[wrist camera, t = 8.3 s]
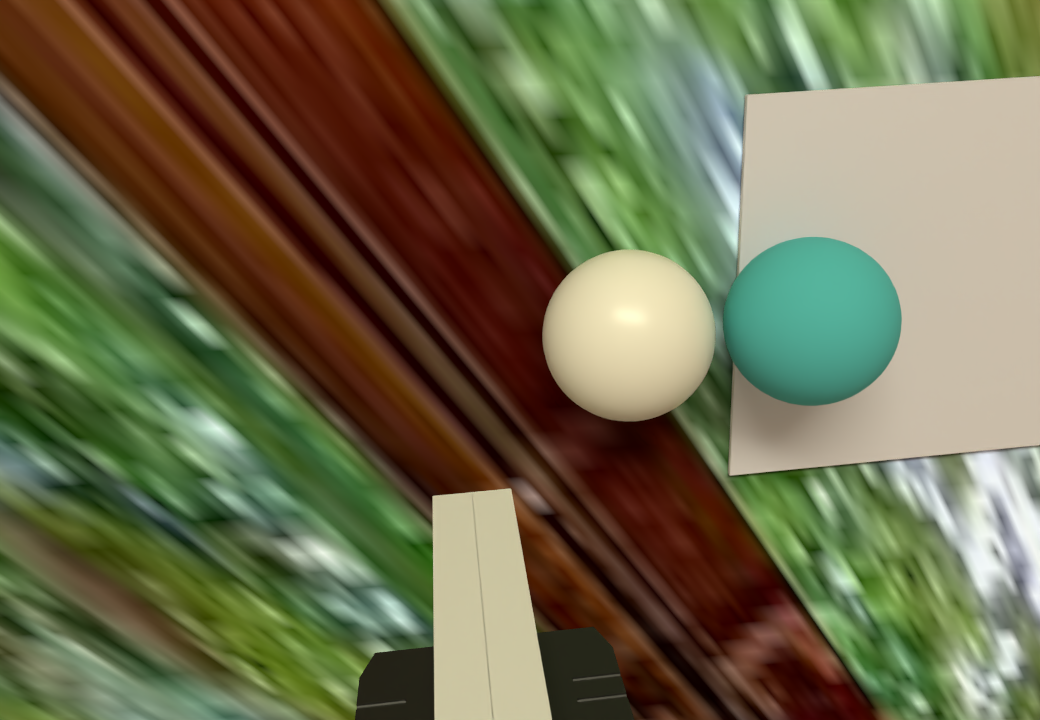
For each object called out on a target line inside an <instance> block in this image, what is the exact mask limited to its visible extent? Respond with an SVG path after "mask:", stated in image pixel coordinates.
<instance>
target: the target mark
mask: <svg viewBox="0 0 1040 720" xmlns="http://www.w3.org/2000/svg"><path fill="white" fill-rule="evenodd" d="M802 237H825V238H831V239H835V240H839V241H843V242H846V243H848V244H850V245H853V246H855V247H857V248H859V249H861V250H862V251H864V252H865V253H867V254H868V255H869V256H871V257H872V258H873V259H874V260H875V261H876V262H877V263H878V264H879V265H880V266H881V267H882V268H883V269H884V271H885V272H886V273H887V275H888V276H889V278H890V279H891V281H892V283H893V285H894V287H895V289H896V292H897V295H898V297H899V302H900V307H901V314H902V324H901V333H900V339H899V343H898V346H897V349H896V351H895V354H894V356H893V358H892V360H891V361H890V363H889V365H888V366H887V368H886V369H885V370H884V372H883V373H882V374H881V375H880V376H879V377H878V378H877V379H876V380H875V381H874V382H873V383H872V384H871V385H869V386H868V387H867V388H865V389H864V390H862V391H861V392H859V393H858V394H856V395H854V396H852V397H850V398H847V399H845V400H842V401H839V402H836V403H832V404H827V405H818V406H803V405H796V404H790V403H787V402H783V401H780V400H777V399H774V398H773V397H771V396H769V395H767V394H765V393H763V392H761V391H760V390H759V389H757V388H756V387H755V386H753V385H752V384H751V383H750V382H749V381H748V380H747V379H746V378H745V377H744V376H743V375H742V374H741V372H740V371H739V370H738V368H737V367H736V365H735V364H734V362H733V375H732V397H731V419H730V441H729V463H728V474H729V475H730V476H731V475H741V474H751V473H761V472H771V471H781V470H791V469H802V468H812V467H822V466H832V465H842V464H852V463H862V462H873V461H883V460H893V459H903V458H913V457H923V456H933V455H943V454H954V453H964V452H974V451H984V450H994V449H1004V448H1014V447H1024V446H1035V445H1040V76H1034V77H1018V78H1003V79H987V80H971V81H955V82H940V83H924V84H908V85H893V86H877V87H861V88H846V89H830V90H814V91H799V92H783V93H767V94H751V95H745V110H744V132H743V154H742V176H741V198H740V220H739V242H738V264H737V276H738V275H739V274H740V272H741V271H742V270H743V269H744V267H745V266H746V265H747V264H748V263H749V262H750V261H751V260H752V259H754V258H755V257H756V256H757V255H759V254H760V253H762V252H763V251H765V250H766V249H768V248H770V247H772V246H774V245H776V244H779V243H781V242H784V241H787V240H792V239H797V238H802Z"/></svg>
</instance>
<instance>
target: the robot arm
mask: <svg viewBox="0 0 1040 720" xmlns="http://www.w3.org/2000/svg"><path fill="white" fill-rule="evenodd" d="M433 592H434V647H425V648H416V649H407V650H398V651H389V652H380V653H375V654H374V656H373V657H372V659H371V660H370V662H369V664H368V665H367V667H366V668H365V670H364V672H363V673H362V675H361V676H360V678H359V688H358V697H357V710H356V716H355V720H634V718H633V714H632V711H631V708H630V704H629V701H628V698H627V697H626V691H625V687H624V684H623V681H622V677H621V676H620V671H619V667H618V664H617V660H616V657H615V654H614V650H613V647H612V646H611V645H610V644H609V643H608V642H607V641H606V640H605V639H604V638H603V636H602V635H601V634H600V633H599V632H598V631H597V630H596V629H595V628H594V627H588V628H579V629H570V630H561V631H552V632H542V633H537V632H536V626H535V621H534V615H533V610H532V604H531V598H530V593H529V587H528V582H527V576H526V570H525V565H524V559H523V553H522V548H521V542H520V537H519V531H518V525H517V520H516V514H515V509H514V503H513V497H512V492H511V489H501V490H491V491H481V492H470V493H460V494H450V495H439V496H433Z"/></svg>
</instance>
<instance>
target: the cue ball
mask: <svg viewBox="0 0 1040 720" xmlns="http://www.w3.org/2000/svg"><path fill="white" fill-rule="evenodd" d="M542 340H543V349H544V354H545V358H546V362H547V364H548V367H549V370H550V372H551V374H552V376H553V378H554V379H555V381H556V383H557V384H558V386H559V387H560V388H561V390H562V391H563V392H564V393H565V394H566V395H567V396H568V397H569V398H570V399H571V400H572V401H573V402H575V403H576V404H577V405H579V406H580V407H582V408H583V409H585V410H587V411H589V412H591V413H592V414H595V415H597V416H600V417H602V418H606V419H610V420H617V421H641V420H647V419H651V418H655V417H658V416H660V415H663V414H665V413H667V412H669V411H671V410H673V409H675V408H676V407H678V406H679V405H681V404H682V403H683V402H684V401H686V400H687V399H688V398H689V397H690V396H691V395H692V394H693V393H694V392H695V390H696V389H697V388H698V387H699V385H700V384H701V383H702V381H703V379H704V378H705V376H706V374H707V372H708V369H709V367H710V364H711V362H712V359H713V355H714V350H715V341H716V330H715V321H714V315H713V312H712V309H711V305H710V303H709V301H708V299H707V297H706V295H705V293H704V291H703V290H702V288H701V287H700V285H699V284H698V283H697V281H696V280H695V279H694V278H693V277H692V276H691V275H690V274H689V273H688V272H687V271H686V270H685V269H683V268H682V267H681V266H680V265H678V264H677V263H675V262H673V261H672V260H670V259H668V258H666V257H663V256H661V255H658V254H655V253H651V252H647V251H641V250H618V251H611V252H607V253H604V254H601V255H598V256H596V257H593V258H591V259H589V260H587V261H585V262H584V263H582V264H581V265H579V266H578V267H577V268H575V269H574V270H573V271H572V272H571V273H569V274H568V275H567V276H566V278H565V279H564V280H563V281H562V282H561V284H560V285H559V286H558V287H557V289H556V291H555V292H554V294H553V296H552V298H551V300H550V302H549V305H548V307H547V310H546V314H545V317H544V324H543V338H542Z"/></svg>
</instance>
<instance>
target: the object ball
mask: <svg viewBox="0 0 1040 720" xmlns="http://www.w3.org/2000/svg"><path fill="white" fill-rule="evenodd" d="M901 324H902V314H901V307H900V302H899V297H898V295H897V292H896V289H895V287H894V285H893V283H892V281H891V279H890V278H889V276H888V275H887V273H886V272H885V271H884V269H883V268H882V267H881V266H880V265H879V264H878V263H877V262H876V261H875V260H874V259H873V258H872V257H871V256H869V255H868V254H867V253H865V252H864V251H862V250H861V249H859V248H857V247H855V246H853V245H850V244H848V243H846V242H843V241H839V240H835V239H831V238H825V237H802V238H797V239H792V240H787V241H784V242H781V243H779V244H776V245H774V246H772V247H770V248H768V249H766V250H765V251H763V252H762V253H760V254H759V255H757V256H756V257H755V258H754V259H752V260H751V261H750V262H749V263H748V264H747V265H746V266H745V267H744V269H743V270H742V271H741V272H740V274H739V275H738V276H737V278H736V280H735V281H734V283H733V285H732V287H731V289H730V291H729V294H728V297H727V300H726V303H725V308H724V314H723V330H724V337H725V342H726V346H727V349H728V351H729V354H730V356H731V358H732V360H733V362H734V364H735V365H736V367H737V368H738V370H739V371H740V372H741V374H742V375H743V376H744V377H745V378H746V379H747V380H748V381H749V382H750V383H751V384H752V385H753V386H755V387H756V388H757V389H759V390H760V391H761V392H763V393H765V394H767V395H769V396H771V397H773V398H774V399H777V400H780V401H783V402H787V403H790V404H796V405H803V406H818V405H827V404H832V403H836V402H839V401H842V400H845V399H847V398H850V397H852V396H854V395H856V394H858V393H859V392H861V391H862V390H864V389H865V388H867V387H868V386H869V385H871V384H872V383H873V382H874V381H875V380H876V379H877V378H878V377H879V376H880V375H881V374H882V373H883V372H884V370H885V369H886V368H887V366H888V365H889V363H890V361H891V360H892V358H893V356H894V354H895V351H896V349H897V346H898V343H899V339H900V333H901Z"/></svg>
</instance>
